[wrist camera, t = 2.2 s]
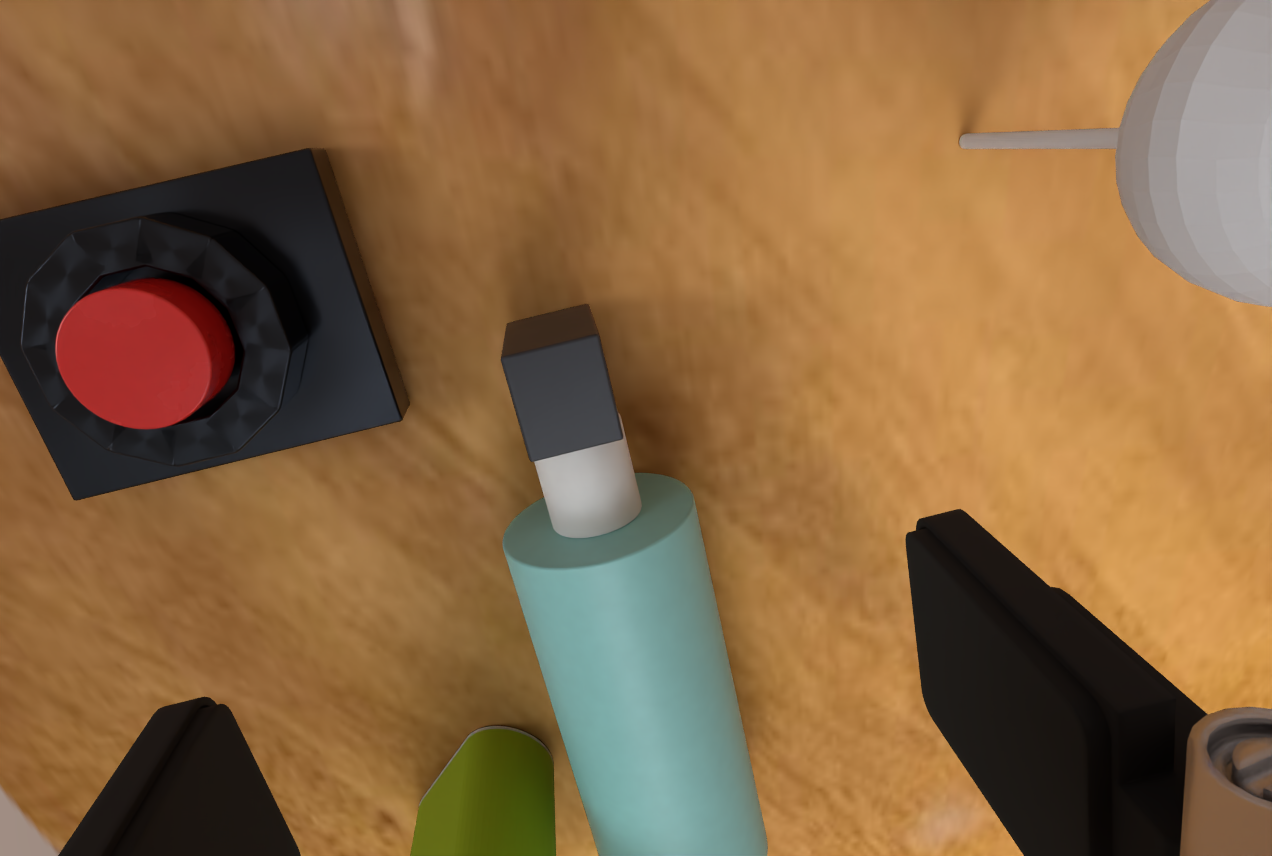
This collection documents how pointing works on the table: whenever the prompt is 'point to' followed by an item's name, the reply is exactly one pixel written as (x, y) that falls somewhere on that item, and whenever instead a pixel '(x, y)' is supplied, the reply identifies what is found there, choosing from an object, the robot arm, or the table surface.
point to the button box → (239, 288)
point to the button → (144, 352)
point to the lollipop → (1194, 150)
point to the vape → (490, 799)
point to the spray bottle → (623, 614)
